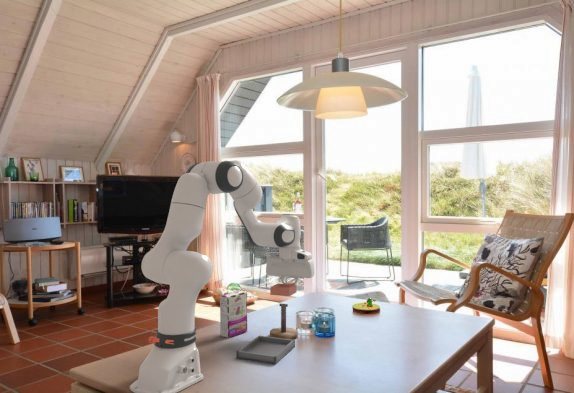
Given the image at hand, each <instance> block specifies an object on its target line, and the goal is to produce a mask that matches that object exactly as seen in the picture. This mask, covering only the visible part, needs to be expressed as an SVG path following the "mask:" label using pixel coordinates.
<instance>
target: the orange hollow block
mask: <svg viewBox="0 0 574 393" xmlns="http://www.w3.org/2000/svg"><path fill="white" fill-rule="evenodd" d="M294 282H295V281H292V282H291V281H287V283H285V284H283V283H279V282H278V283H276V284H274V285H272V286H270V289H269V290H270V291H269V292H270V293H269V294H270V296H280V297H291V296H293V295H295V294H296V293H297V291H298V290H297V286H298V285H292V283H294Z"/></svg>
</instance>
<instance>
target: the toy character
mask: <svg viewBox="0 0 574 393" xmlns="http://www.w3.org/2000/svg"><path fill="white" fill-rule="evenodd" d="M373 302H377V300H376V299H374V300H373V299H372V298H368V299H366V302H363V303H362V304H363V305H366V308H367V307H371V308H372V307H374V305H373Z"/></svg>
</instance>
